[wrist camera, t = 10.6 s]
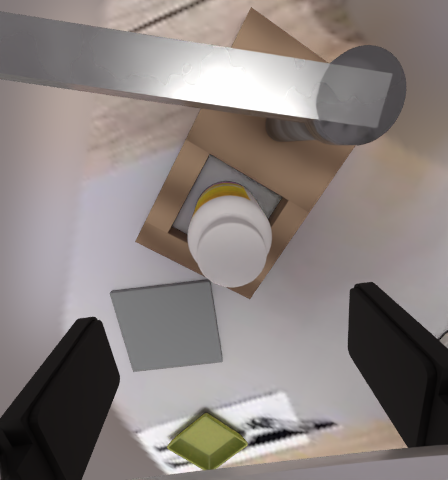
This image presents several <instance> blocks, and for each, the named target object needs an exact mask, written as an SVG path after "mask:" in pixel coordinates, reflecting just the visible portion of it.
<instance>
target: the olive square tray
mask: <svg viewBox="0 0 448 480" xmlns="http://www.w3.org/2000/svg"><path fill="white" fill-rule="evenodd" d="M247 445H248V443H247V441H246V440H245V439H244V438H243V437H242V436H241V435H240V434H239V433H238V432H236V431H234V430H233V429H231V428H230V427H228V426H227V425H225V424H224V423H222V422H221V421H219V420H218V419H216V418H214V417H213V416H211V415H210V414H208V413H204V414H203V415H202V416H201V417H199V418H198V419H197V420H196V421H195V422H193V423H192V424H191V425H190V426H188V427H187V428H186V429H185V430H184V431H182V432H181V433H180V434H179V435H177V436H176V437H175V438H174V439H173V440H172V441H171V442H170V443H169V445H168V446H167V448H168V449H169V450H170V451H172V452H174V453H175V454H177V455H179V456H181V457H182V458H184V459H186V460H188V461H189V462H191V463H193V464H194V465H196V466H198V467H199V468H201V469H203V470H212V469H216V468H218V467H219V466H220V465H222V464H223V463H224V462H226V461H227V460H228V459H230V458H231V457H232V456H234V455H235V454H236V453H238V452H239V451H241V450H242V449H243V448H245V447H246V446H247Z"/></svg>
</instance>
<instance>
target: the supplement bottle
mask: <svg viewBox="0 0 448 480" xmlns="http://www.w3.org/2000/svg"><path fill="white" fill-rule="evenodd" d="M271 242H272V231H271V226H270V223H269V221H268V219H267V217H266V215H265V214H264V212H263V211H262V209H261V208H260V206H259V204H258V203H257V201H256V200H255V198H254V197H253V195H252V194H251V193H250V191H249V190H248V189H246V188H245V187H244V186H242V185H240V184H238V183H235V182H228V181H226V182H219V183H216V184H213V185H211V186H210V187H208V188H207V189H206V190H205V191H204V192H203V193H202V194H201V196H200V197H199V199H198V202H197V205H196V208H195V210H194V213H193V216H192V219H191V222H190V225H189V228H188V246H189V249H190V252H191V254H192V256H193V258H194V259H195V261H196V262H197V263H198V266H199V268H200V270H201V272H202V273H203V275H204V276H205V277H206V278H207V279H208V280H210V281H211V282H213V283H215V284H217V285H220V286H223V287H239V286H243V285H246V284H248V283H250V282H251V281H253V280H254V279H255V278H256V277H257V276H258V275H259V274H260V273H261V272H262V270H263V268H264V266H265V263H266V258H267V255H268V253H269V250H270V247H271Z"/></svg>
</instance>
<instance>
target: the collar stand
mask: <svg viewBox="0 0 448 480" xmlns="http://www.w3.org/2000/svg"><path fill="white" fill-rule="evenodd" d="M231 48H235V49H241V50H247V51H254V52H260V53H266V54H273V55H279V56H285V57H292V58H298V59H304V60H311V61H317V62H323V63H328V62H326V61H325V60H324V59H322V58H321V57H319V56H318V55H317V54H315V53H314V52H312V51H311V50H310V49H308V48H307V47H306V46H304V45H303V44H301V43H300V42H299V41H297V40H296V39H294V38H293V37H292V36H290V35H289V34H288V33H286V32H285V31H283V30H282V29H281V28H279V27H278V26H276V25H275V24H274V23H272V22H271V21H270V20H268V19H267V18H265V17H264V16H263V15H261V14H260V13H258V12H257V11H256V10H254V9H253V8H252V7H251V9H250V11H249V13H248V15H247V17H246V19H245V21H244V23H243V25H242V27H241V29H240V31H239V33H238V35H237V37H236V39H235V41H234V43H233V45H232V47H231ZM354 147H355V145H328V144H324V143H322V142H320V141H318V140H317V139H315V138H314V137H313V136H312V135H311V134H310V133H309V131H308V130H307V128H306V126H305V123H299V122H292V121H285V120H278V119H272V118H265V117H258V116H251V115H244V114H237V113H230V112H223V111H216V110H209V109H202V108H201V110H200V112H199V114H198V116H197V118H196V120H195V122H194V124H193V126H192V128H191V130H190V132H189V134H188V136H187V138H186V140H185V142H184V144H183V146H182V148H181V150H180V152H179V154H178V156H177V158H176V160H175V162H174V164H173V166H172V168H171V170H170V172H169V175H168V177H167V179H166V181H165V183H164V185H163V187H162V189H161V191H160V193H159V195H158V197H157V199H156V201H155V203H154V205H153V207H152V209H151V211H150V213H149V215H148V217H147V219H146V221H145V223H144V225H143V227H142V229H141V231H140V233H139V235H138V237H137V239H136V241H135V242H137V243H139V244H141V245H143V246H145V247H147V248H149V249H151V250H153V251H155V252H157V253H159V254H161V255H163V256H165V257H167V258H169V259H171V260H173V261H175V262H177V263H179V264H181V265H183V266H185V267H187V268H189V269H191V270H193V271H195V272H197V273H199V274H201V275H203V273H202V272H201V270H200V268H199V266H198V263H197V262H196V261H195V259H194V258H193V256H192V254H191V252H190V249H189V246H188V235H187V234H185V233H184V232H182V231H180V230H178V229H176V228H174V227H172V225H173V223H174V221H175V219H176V217H177V215H178V213H179V211H180V209H181V208H182V206H183V204H184V202H185V200H186V198H187V196H188V194H189V192H190V191H191V189H192V187H193V185H194V183H195V181H196V179H197V177H198V175H199V174H200V172H201V170H202V168H203V166H204V164H205V162H206V160H207V158H208V157H209V155H210V154H211V155H213V156H215V157H216V158H218V159H220V160H221V161H223V162H225V163H226V164H228V165H230V166H231V167H233V168H235V169H237V170H238V171H240V172H242V173H243V174H245V175H247V176H248V177H250V178H252V179H253V180H255V181H257V182H258V183H260V184H262V185H264V186H265V187H267V188H269V189H270V190H272V191H274V192H275V193H277V194H279V195H280V196H282V199H281V200H280V202H279V204H278V205H277V207H276V208H275V210H274V211H273V213H272V215H271V216H270V218H269V219H268V221H269V223H270V226H271V231H272V242H271V247H270V250H269V253H268V255H267V258H266V263H265V266H264V268H263V270H262V272H261V273H260V274H259V275H258V276H257V277H256V278H255V279H254V280H253V281H251V282H250V283H248V284H246V285H243V286H239V287H227V288H229V289H231V290H233V291H235V292H237V293H239V294H241V295H243V296H245V297H247V298H249V299H250V298H251V297H252V295H253V294H254V292H255V291H256V290H257V288H258V287H259V285H260V284H261V282H262V281H263V279H264V278H265V276H266V275H267V273H268V272H269V271H270V269H271V268H272V266H273V265H274V263H275V262H276V260H277V259H278V257H279V256H280V255H281V253H282V252H283V250H284V249H285V247H286V246H287V244H288V243H289V241H290V240H291V239H292V237H293V236H294V234H295V233H296V231H297V230H298V228H299V227H300V225H301V224H302V222H303V221H304V220H305V218H306V217H307V215H308V214H309V212H310V211H311V209H312V208H313V206H314V205H315V204H316V202H317V201H318V199H319V198H320V196H321V195H322V193H323V192H324V190H325V189H326V188H327V186H328V185H329V183H330V182H331V180H332V179H333V177H334V176H335V174H336V173H337V171H338V170H339V169H340V167H341V166H342V164H343V163H344V161H345V160H346V158H347V157H348V155H349V154H350V153H351V151H352V150H353V148H354ZM203 276H204V275H203Z"/></svg>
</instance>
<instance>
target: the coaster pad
mask: <svg viewBox="0 0 448 480" xmlns="http://www.w3.org/2000/svg"><path fill="white" fill-rule="evenodd" d="M110 296H111V299H112V303H113V306H114V309H115V313H116V316H117V319H118V323H119V326H120V329H121V333H122V336H123V339H124V343H125V346H126V349H127V353H128V356H129V359H130V363H131V366H132V369H133V372H137V371H146V370H155V369H164V368H173V367H182V366H191V365H200V364H209V363H218V362H222V353H221V347H220V340H219V334H218V328H217V321H216V315H215V309H214V302H213V296H212V290H211V283H210V280H199V281H191V282H183V283H174V284H166V285H157V286H149V287H141V288H132V289H124V290H115V291H111V293H110Z"/></svg>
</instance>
